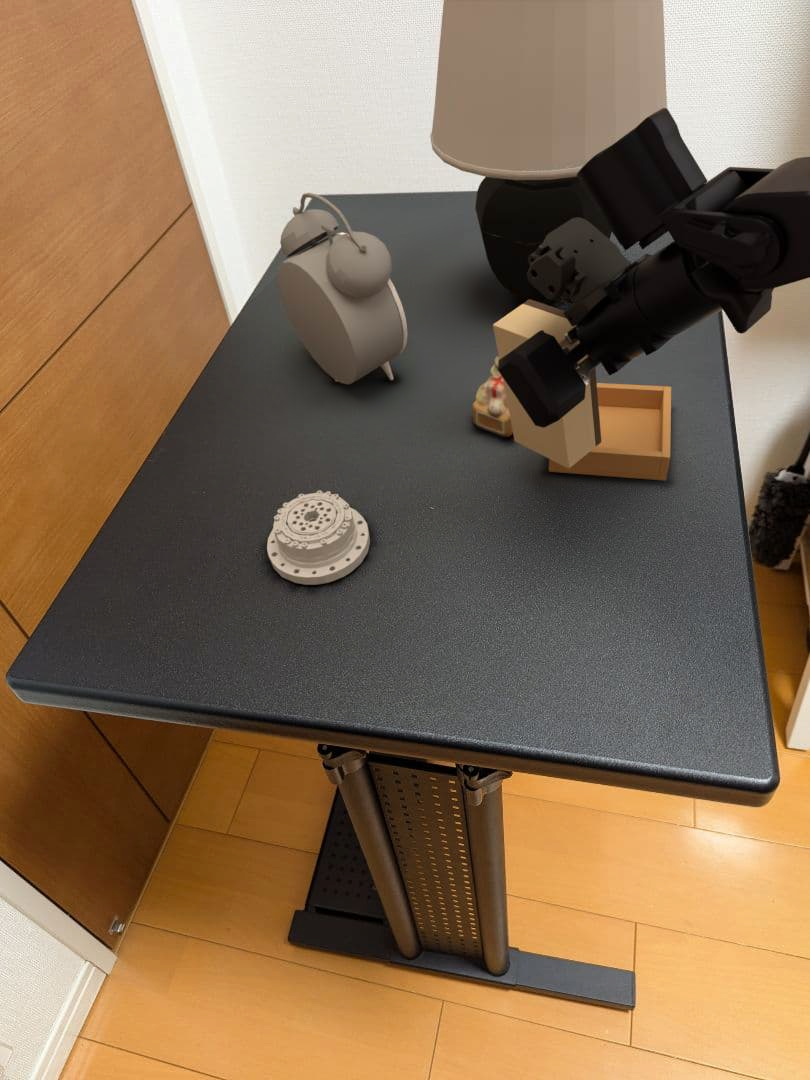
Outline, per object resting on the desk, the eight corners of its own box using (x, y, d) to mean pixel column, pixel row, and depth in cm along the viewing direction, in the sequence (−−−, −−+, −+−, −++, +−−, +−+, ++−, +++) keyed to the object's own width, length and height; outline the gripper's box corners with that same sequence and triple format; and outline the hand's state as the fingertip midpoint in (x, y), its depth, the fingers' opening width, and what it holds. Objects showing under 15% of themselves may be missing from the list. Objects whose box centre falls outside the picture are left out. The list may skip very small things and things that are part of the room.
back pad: (546, 416, 76) (529, 298, 67) (601, 442, 71) (591, 319, 62) (514, 441, 74) (492, 324, 65) (569, 469, 70) (553, 347, 61)
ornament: (517, 446, 83) (517, 367, 76) (465, 433, 85) (460, 356, 78) (544, 404, 87) (546, 326, 80) (494, 393, 90) (492, 316, 82)
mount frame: (667, 409, 84) (671, 386, 82) (665, 480, 77) (670, 457, 75) (560, 403, 87) (561, 380, 85) (548, 471, 80) (549, 448, 77)
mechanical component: (299, 504, 80) (251, 573, 74) (289, 472, 77) (239, 542, 71) (386, 523, 77) (344, 597, 71) (380, 491, 74) (335, 565, 68)
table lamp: (628, 362, 91) (680, -59, 62) (414, 338, 99) (373, -42, 71) (660, 254, 108) (713, -118, 79) (475, 241, 116) (461, -98, 87)
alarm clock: (421, 386, 92) (401, 203, 76) (362, 418, 89) (329, 234, 73) (345, 334, 102) (313, 163, 86) (290, 361, 99) (246, 188, 83)
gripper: (675, 151, 58) (551, 254, 72) (517, 252, 50) (412, 346, 63) (752, 277, 59) (616, 354, 73) (611, 395, 51) (488, 456, 65)
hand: (537, 373), depth 69 cm, fingers closed on back pad, 5 cm apart
